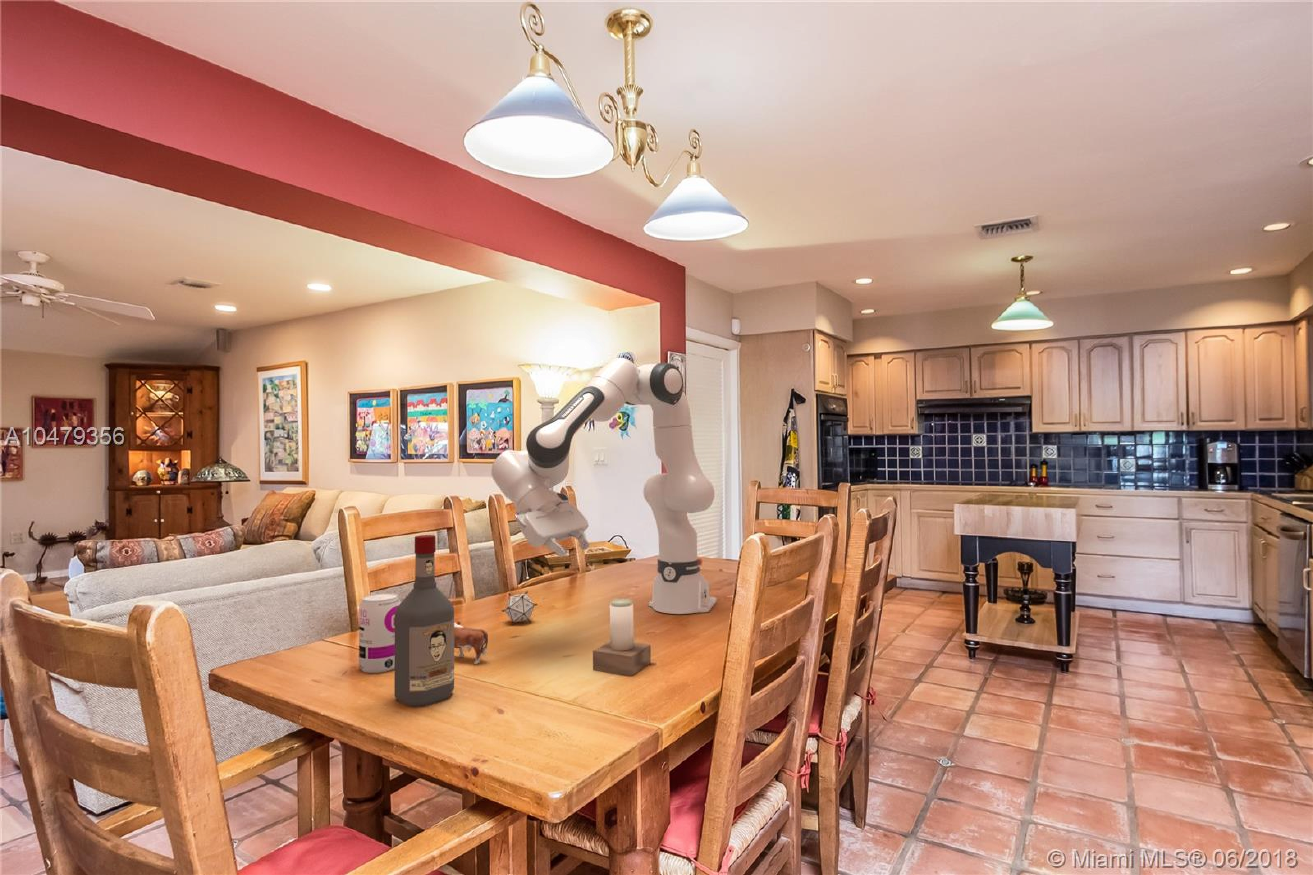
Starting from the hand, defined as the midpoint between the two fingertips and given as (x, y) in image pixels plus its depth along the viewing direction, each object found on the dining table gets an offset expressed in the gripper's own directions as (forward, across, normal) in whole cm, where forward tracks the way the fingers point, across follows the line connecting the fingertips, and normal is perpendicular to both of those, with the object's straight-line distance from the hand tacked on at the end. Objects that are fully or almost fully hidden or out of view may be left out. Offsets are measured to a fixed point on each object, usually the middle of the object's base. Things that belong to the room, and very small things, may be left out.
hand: (576, 551), depth 150 cm
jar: (+23, -4, +4) cm, 24 cm away
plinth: (+26, -4, +7) cm, 27 cm away
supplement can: (-7, -27, +38) cm, 48 cm away
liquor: (+8, -35, +24) cm, 43 cm away
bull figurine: (+2, -15, +30) cm, 34 cm away
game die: (-4, +15, +36) cm, 39 cm away
